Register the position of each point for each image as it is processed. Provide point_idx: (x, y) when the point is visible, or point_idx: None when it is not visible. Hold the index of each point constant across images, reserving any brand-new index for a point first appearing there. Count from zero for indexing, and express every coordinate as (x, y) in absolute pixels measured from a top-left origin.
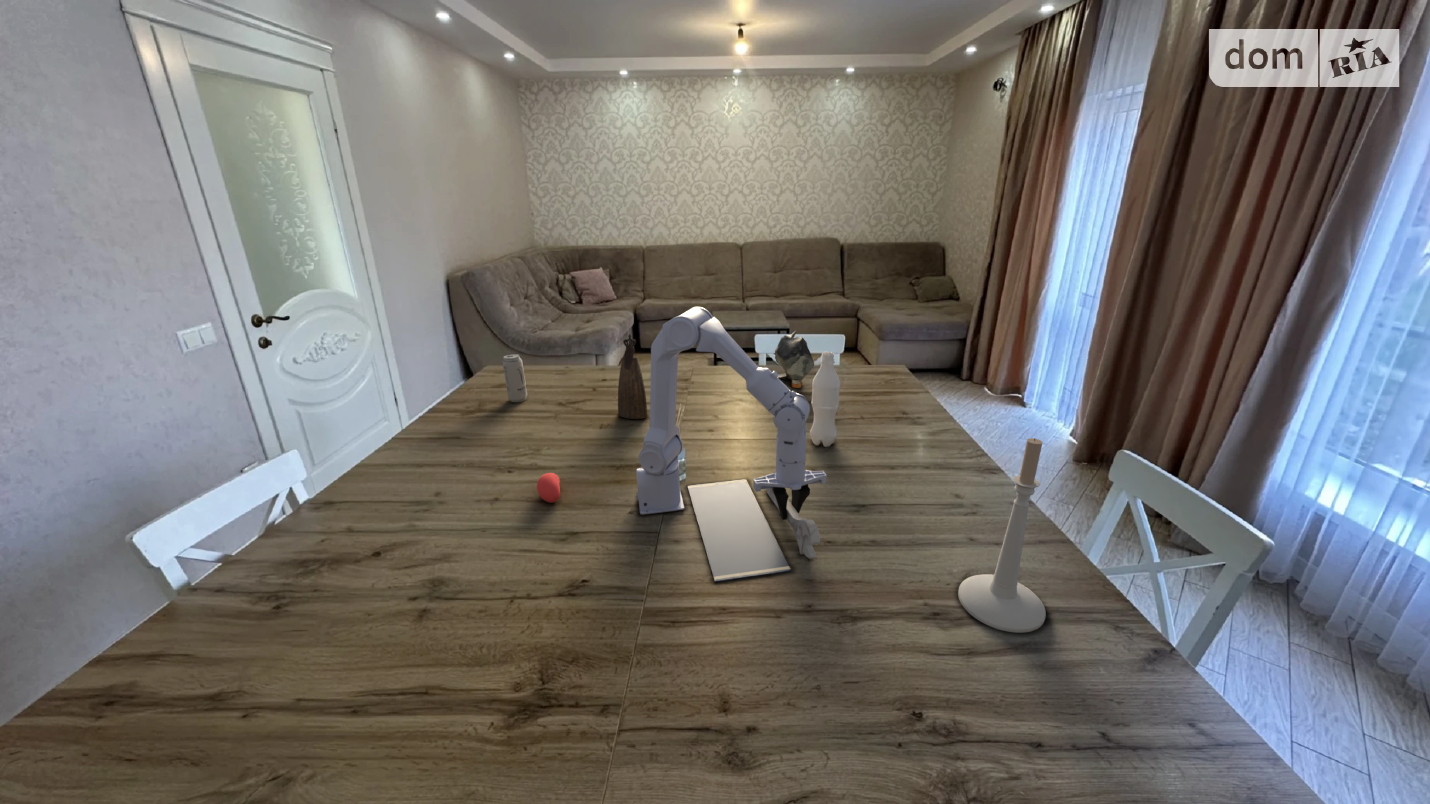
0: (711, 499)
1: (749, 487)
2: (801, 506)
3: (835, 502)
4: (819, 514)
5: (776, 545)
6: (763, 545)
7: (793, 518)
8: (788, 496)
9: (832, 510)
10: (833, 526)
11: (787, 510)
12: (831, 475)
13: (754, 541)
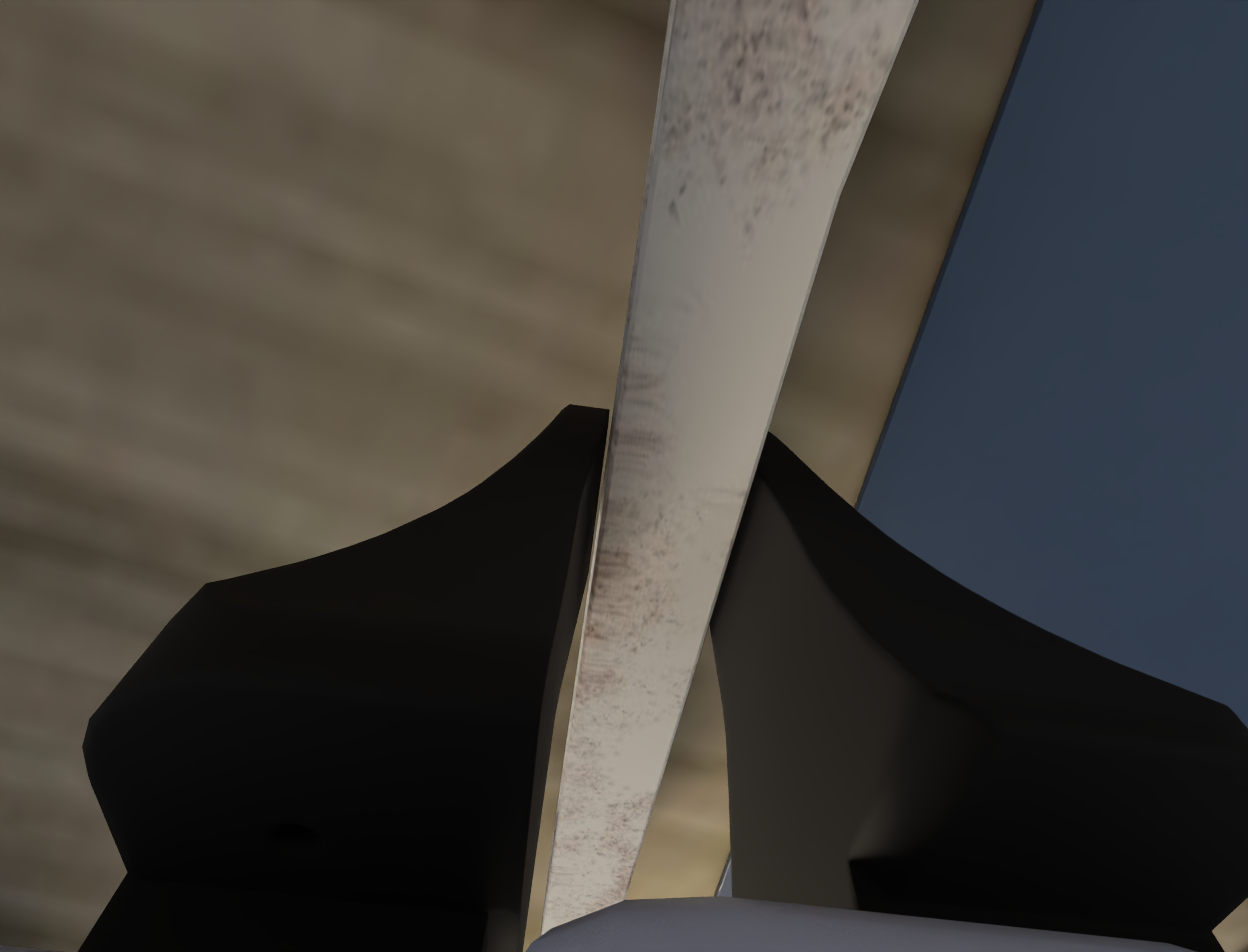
0: None
1: None
2: (490, 476)
3: (35, 589)
4: (248, 474)
5: (1065, 39)
6: (1217, 112)
7: (856, 142)
8: (922, 679)
9: (88, 489)
10: (129, 208)
11: (748, 487)
12: (22, 868)
13: (1240, 246)
